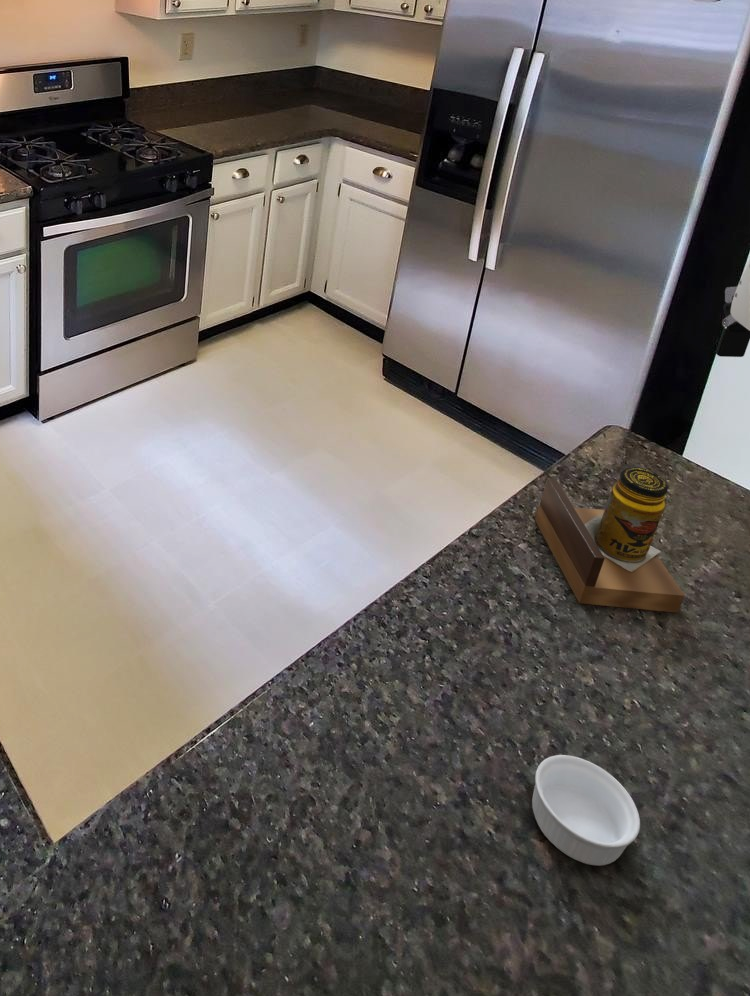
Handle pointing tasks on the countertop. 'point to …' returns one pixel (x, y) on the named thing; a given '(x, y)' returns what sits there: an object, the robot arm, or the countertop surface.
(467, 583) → the countertop surface
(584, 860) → the ramekin
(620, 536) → the condiment
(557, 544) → the shelf
